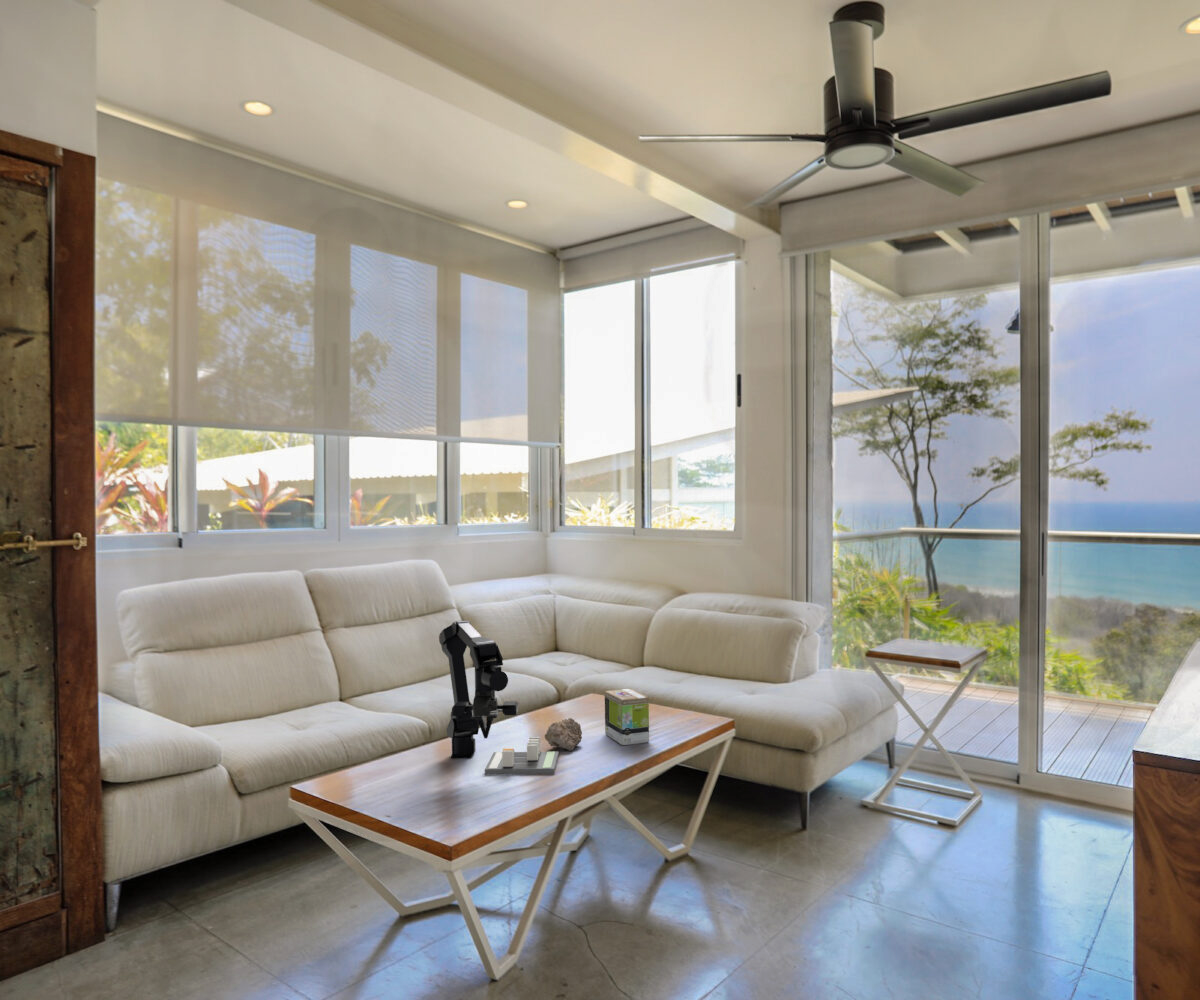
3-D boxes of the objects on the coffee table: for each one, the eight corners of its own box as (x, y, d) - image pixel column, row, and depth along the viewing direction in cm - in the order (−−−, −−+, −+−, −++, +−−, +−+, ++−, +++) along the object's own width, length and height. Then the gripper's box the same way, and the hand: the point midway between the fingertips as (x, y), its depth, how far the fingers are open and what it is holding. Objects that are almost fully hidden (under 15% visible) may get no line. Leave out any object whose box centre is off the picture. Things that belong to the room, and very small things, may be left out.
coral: (565, 756, 252) (552, 725, 254) (546, 761, 258) (534, 731, 259) (593, 738, 263) (581, 709, 264) (574, 743, 269) (563, 714, 270)
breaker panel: (484, 774, 236) (484, 768, 236) (493, 757, 252) (493, 751, 252) (554, 773, 236) (554, 768, 236) (558, 756, 252) (558, 751, 252)
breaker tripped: (502, 766, 237) (502, 750, 237) (503, 763, 240) (503, 747, 240) (512, 766, 237) (512, 750, 237) (514, 763, 240) (513, 747, 240)
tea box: (650, 742, 264) (649, 696, 264) (621, 746, 261) (620, 699, 261) (631, 730, 278) (630, 687, 278) (604, 734, 275) (603, 690, 275)
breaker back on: (529, 754, 248) (529, 739, 248) (530, 751, 251) (530, 736, 251) (539, 754, 248) (538, 739, 248) (540, 751, 251) (540, 736, 251)
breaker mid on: (527, 760, 242) (526, 744, 242) (528, 757, 245) (528, 741, 245) (537, 760, 242) (537, 744, 242) (538, 757, 245) (538, 741, 245)
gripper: (447, 691, 231) (448, 747, 231) (513, 690, 231) (514, 746, 231) (455, 682, 242) (456, 735, 242) (518, 681, 242) (519, 734, 242)
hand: (485, 738), depth 239 cm, fingers closed
